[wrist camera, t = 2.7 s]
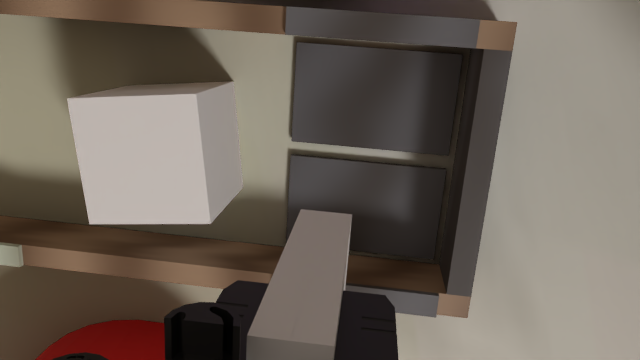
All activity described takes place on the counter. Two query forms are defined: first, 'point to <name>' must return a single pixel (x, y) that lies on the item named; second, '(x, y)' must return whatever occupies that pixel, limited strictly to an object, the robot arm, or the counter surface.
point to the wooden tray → (321, 172)
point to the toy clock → (113, 341)
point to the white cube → (158, 152)
